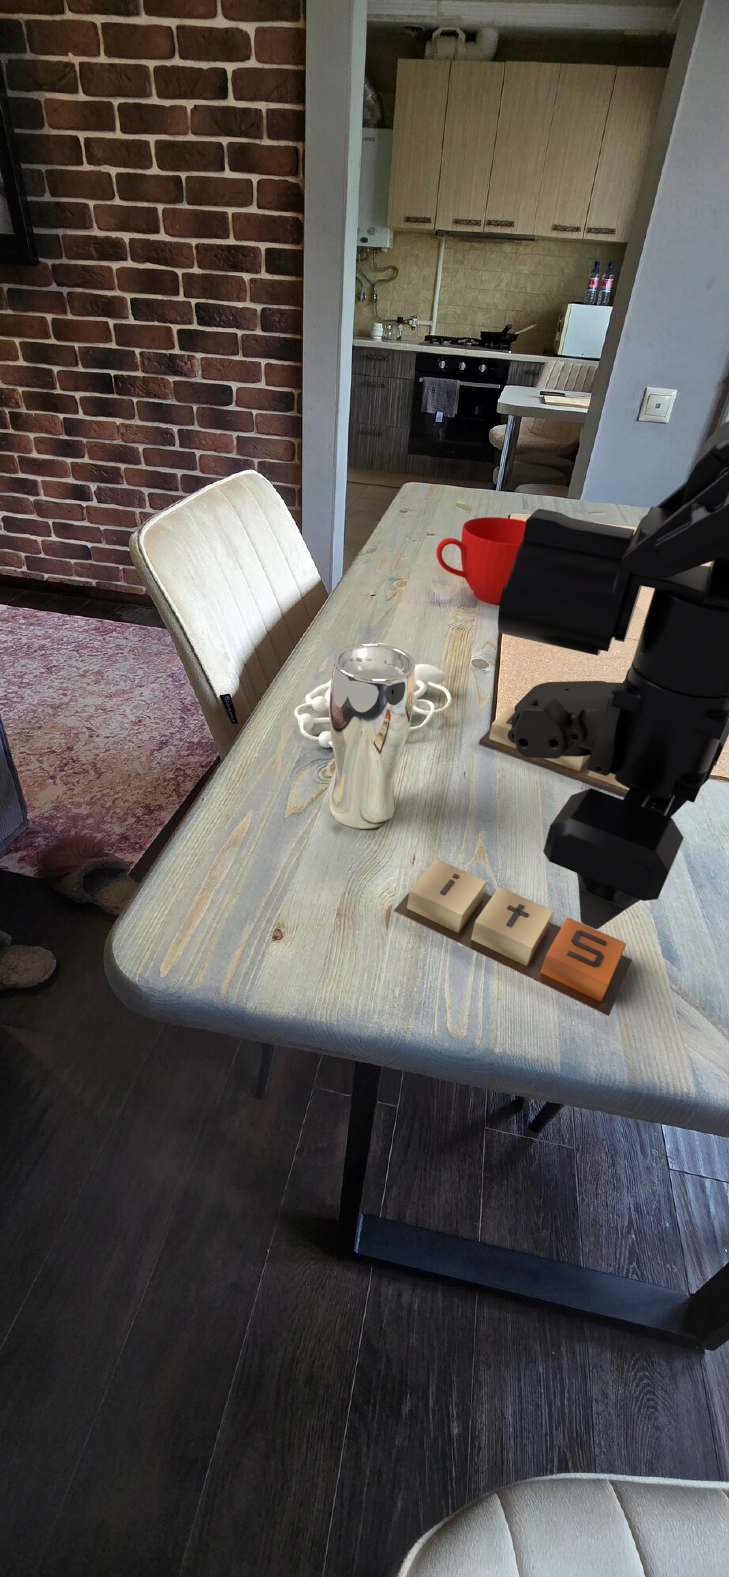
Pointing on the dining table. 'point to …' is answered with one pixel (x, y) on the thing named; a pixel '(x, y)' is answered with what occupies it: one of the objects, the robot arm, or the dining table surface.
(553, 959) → the s tile
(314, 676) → the dining table surface
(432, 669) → the tangled rod sculpture
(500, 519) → the ceramic cup
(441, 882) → the front word
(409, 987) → the dining table surface
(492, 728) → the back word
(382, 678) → the beer glass
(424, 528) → the dining table surface
